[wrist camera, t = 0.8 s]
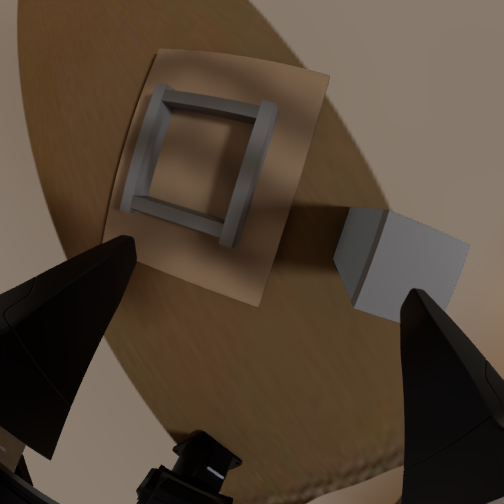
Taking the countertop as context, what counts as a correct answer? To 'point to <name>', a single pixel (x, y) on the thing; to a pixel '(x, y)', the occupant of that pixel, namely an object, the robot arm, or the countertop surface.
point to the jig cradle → (215, 166)
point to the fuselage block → (395, 261)
